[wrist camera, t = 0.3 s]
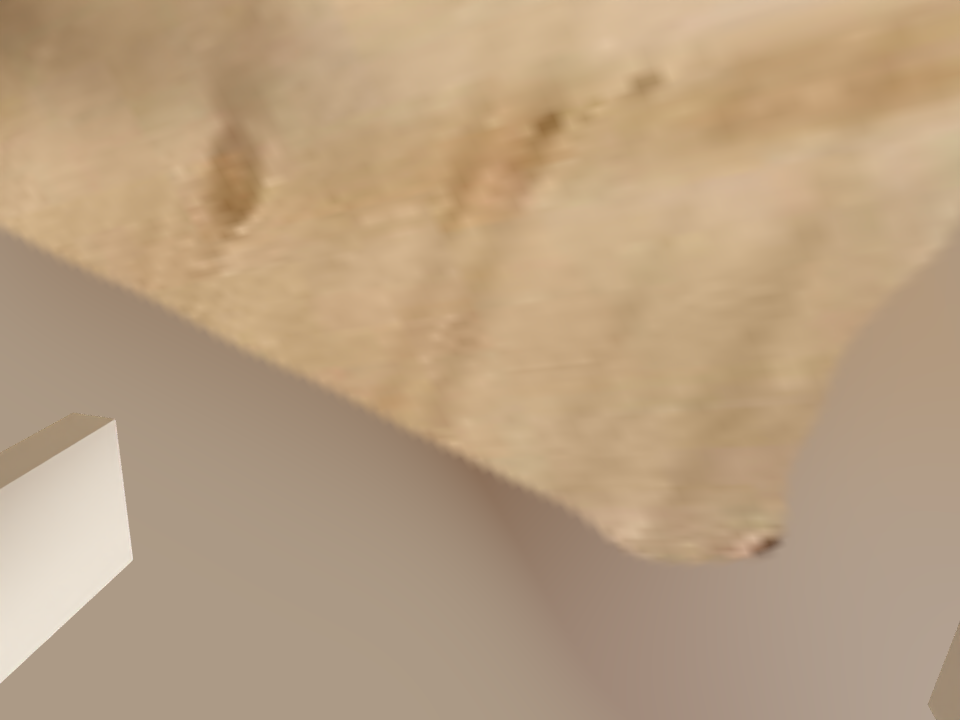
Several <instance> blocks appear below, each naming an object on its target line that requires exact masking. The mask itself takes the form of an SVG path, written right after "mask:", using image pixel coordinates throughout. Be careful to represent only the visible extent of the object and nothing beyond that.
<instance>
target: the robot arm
mask: <svg viewBox="0 0 960 720" xmlns="http://www.w3.org/2000/svg"><path fill="white" fill-rule="evenodd" d="M132 560H133V556H132V548H131V541H130V533H129V525H128V516H127V509H126V500H125V492H124V484H123V476H122V468H121V460H120V452H119V445H118V436H117V428H116V420H115V419H112V418H105V417H98V416H92V415H85V414H78V413H72V414H70V415H68V416H66V417H64V418H63V419H61V420H59V421H58V422H55V423H53V424H52V425H50V426H48V427H46V428H44V429H43V430H41V431H39V432H37V433H35V434H33V435H32V436H30V437H28V438H26V439H25V440H23V441H21V442H19V443H17V444H15V445H13V446H12V447H10V448H8V449H6V450H4V451H2V452H1V453H0V683H1V682H2V681H3V680H4V679H5V678H6V677H8V676H9V675H10V674H11V673H12V672H13V671H14V670H15V669H16V668H17V667H18V666H19V665H21V664H22V663H23V662H24V661H25V660H26V659H27V658H28V657H29V656H30V655H31V654H32V653H33V652H35V651H36V650H37V649H38V648H39V647H40V646H41V645H42V644H43V643H44V642H45V641H46V640H47V639H49V638H50V637H51V636H52V635H53V634H54V633H55V632H56V631H57V630H58V629H59V628H60V627H61V626H63V625H64V624H65V623H66V622H67V621H68V620H69V619H70V618H71V617H72V616H73V615H74V614H75V613H77V612H78V610H80V609H81V608H82V607H83V606H84V605H85V604H86V603H87V602H88V601H89V600H90V599H91V598H93V597H94V596H95V595H96V594H97V593H98V592H99V591H100V590H101V589H102V588H103V587H104V586H105V585H107V584H108V583H109V582H110V581H111V580H112V579H113V578H114V577H115V576H116V575H117V574H118V573H120V571H122V570H123V569H124V568H125V567H126V566H127V565H128V564H129V563H130V562H131V561H132ZM928 706H929V708H930V710H931V711H932V713H933V715H934V717H935V719H936V720H960V623H959V625H958V628H957V631H956V633H955V636H954V638H953V641H952V643H951V646H950V649H949V651H948V654H947V656H946V659H945V661H944V664H943V667H942V669H941V672H940V674H939V677H938V679H937V682H936V684H935V687H934V690H933V692H932V695H931V697H930V700H929V703H928Z"/></svg>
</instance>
